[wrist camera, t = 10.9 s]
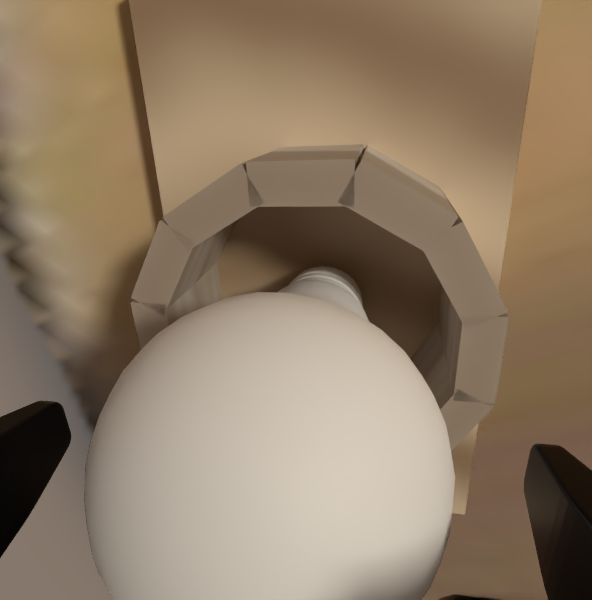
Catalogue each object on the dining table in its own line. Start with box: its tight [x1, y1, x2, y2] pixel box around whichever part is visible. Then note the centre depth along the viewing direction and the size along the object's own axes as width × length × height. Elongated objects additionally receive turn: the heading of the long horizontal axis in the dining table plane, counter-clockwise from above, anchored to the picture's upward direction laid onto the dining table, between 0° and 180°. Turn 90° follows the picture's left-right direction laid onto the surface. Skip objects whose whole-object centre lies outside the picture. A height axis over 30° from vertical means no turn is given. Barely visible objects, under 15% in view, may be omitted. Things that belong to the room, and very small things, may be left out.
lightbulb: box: [84, 266, 455, 600], centre depth 10 cm, size 6×6×11 cm
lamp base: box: [129, 0, 542, 515], centre depth 14 cm, size 19×11×5 cm, turn 2°
